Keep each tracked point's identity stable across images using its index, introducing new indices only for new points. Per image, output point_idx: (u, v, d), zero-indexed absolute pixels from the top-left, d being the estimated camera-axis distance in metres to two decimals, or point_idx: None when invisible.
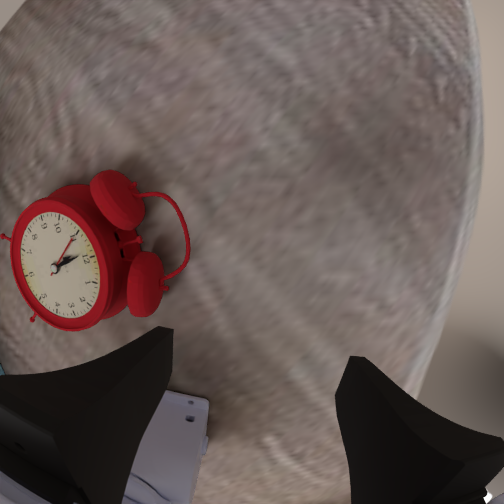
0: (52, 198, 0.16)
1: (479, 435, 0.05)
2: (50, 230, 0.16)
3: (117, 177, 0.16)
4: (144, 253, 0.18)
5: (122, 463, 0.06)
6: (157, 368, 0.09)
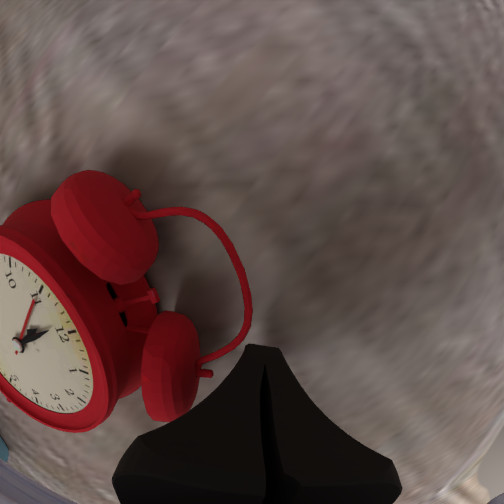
0: None
1: (363, 452, 0.05)
2: (1, 282, 0.08)
3: (102, 183, 0.08)
4: (164, 319, 0.10)
5: None
6: None
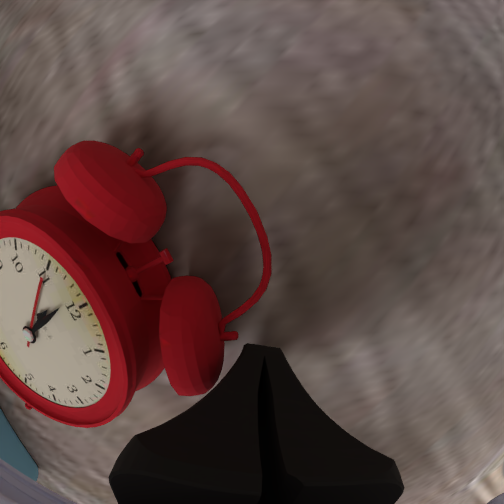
0: None
1: (365, 452, 0.05)
2: (7, 270, 0.08)
3: (104, 147, 0.08)
4: (179, 280, 0.10)
5: None
6: None
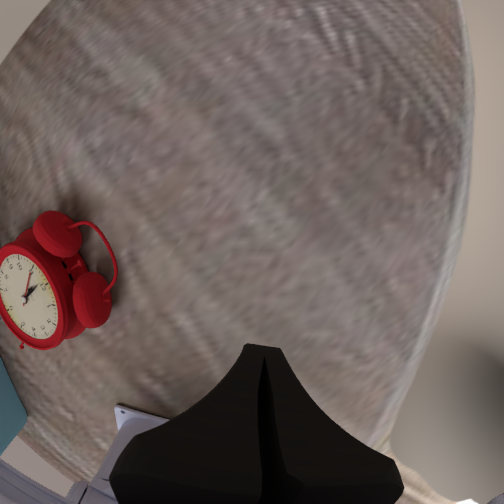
0: (10, 243, 0.18)
1: (365, 452, 0.05)
2: (15, 269, 0.18)
3: (52, 216, 0.18)
4: (85, 273, 0.20)
5: None
6: None
